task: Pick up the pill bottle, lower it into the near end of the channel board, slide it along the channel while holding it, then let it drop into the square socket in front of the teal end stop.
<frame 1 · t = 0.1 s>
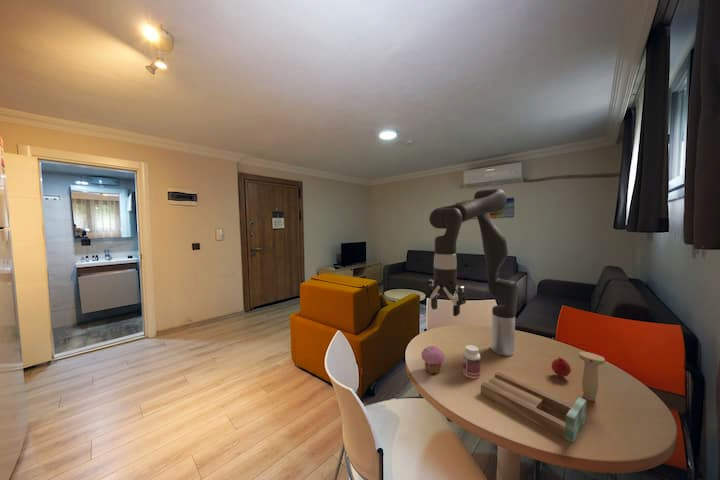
hand: (444, 312, 92), 29 cm above the table, fingers open, 8 cm apart
onion: (560, 377, 101), on the table
pill bottle: (471, 375, 104), on the table
handle: (589, 399, 89), on the table
channel board: (528, 406, 86), on the table
cupcake: (432, 371, 107), on the table
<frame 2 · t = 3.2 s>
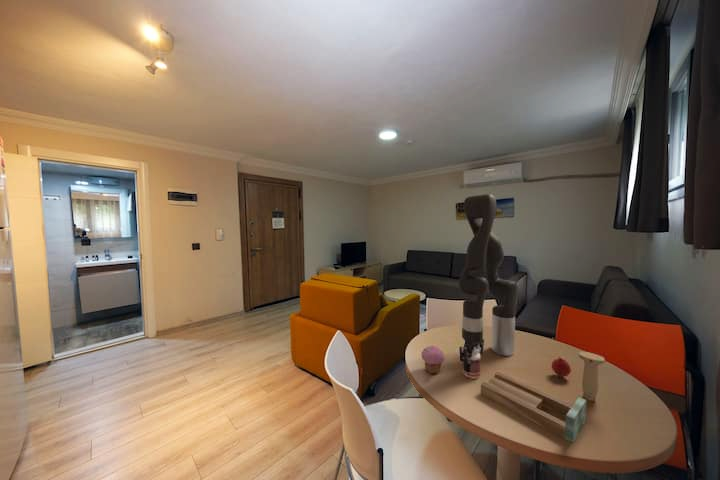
hand: (471, 368, 104), 3 cm above the table, fingers closed on pill bottle, 6 cm apart
pill bottle: (471, 375, 104), on the table, touching gripper
everything else where it was.
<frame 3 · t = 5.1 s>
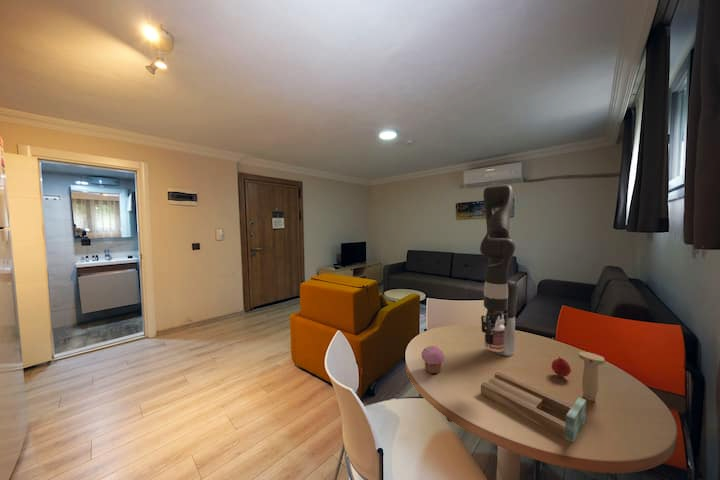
hand: (494, 340, 94), 18 cm above the table, fingers closed on pill bottle, 6 cm apart
pill bottle: (494, 348, 94), point 15 cm above the table, touching gripper
everything else where it was.
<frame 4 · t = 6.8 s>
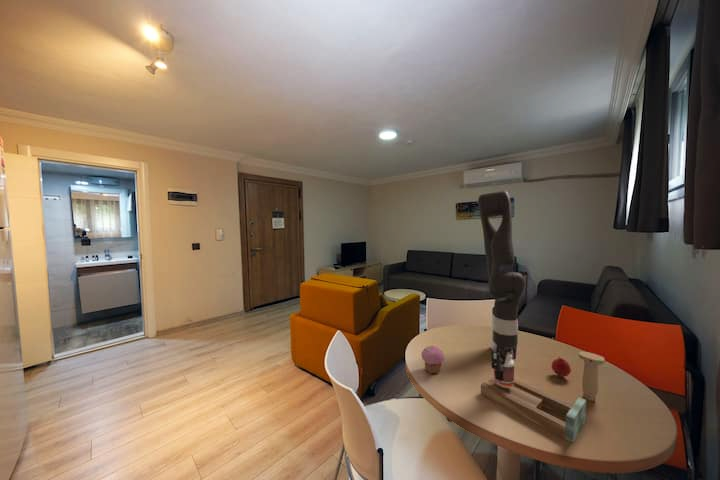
hand: (503, 375, 92), 7 cm above the table, fingers closed on pill bottle, 6 cm apart
pill bottle: (503, 383, 92), point 4 cm above the table, touching gripper
everything else where it was.
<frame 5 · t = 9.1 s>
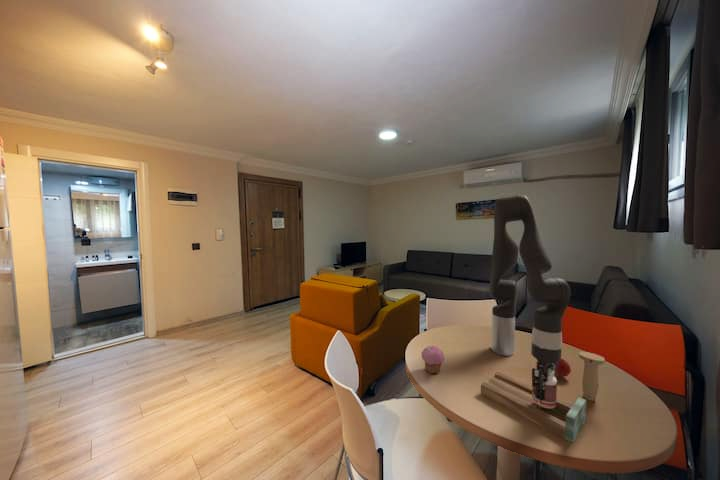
hand: (544, 394, 82), 7 cm above the table, fingers closed on pill bottle, 6 cm apart
pill bottle: (543, 403, 82), point 4 cm above the table, touching gripper
everything else where it was.
when the fingers open (4 cm above the table, at t = 10.9 s): pill bottle drops 1 cm, resting in channel board.
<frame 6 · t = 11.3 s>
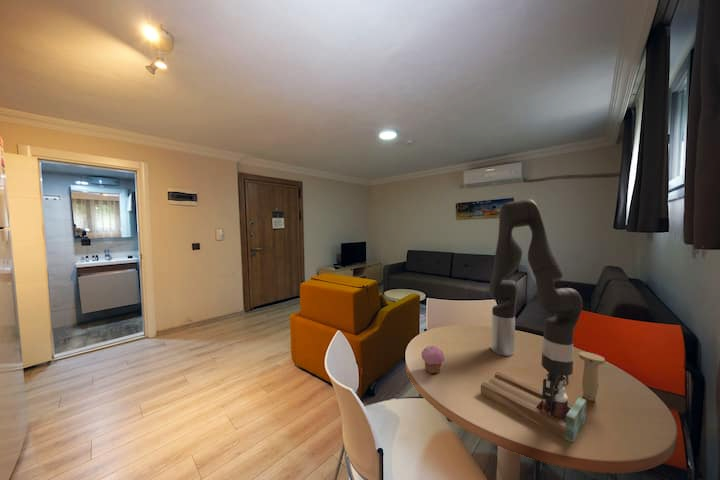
hand: (554, 405, 80), 5 cm above the table, fingers open, 8 cm apart
pill bottle: (554, 419, 81), resting in channel board
everything else where it was.
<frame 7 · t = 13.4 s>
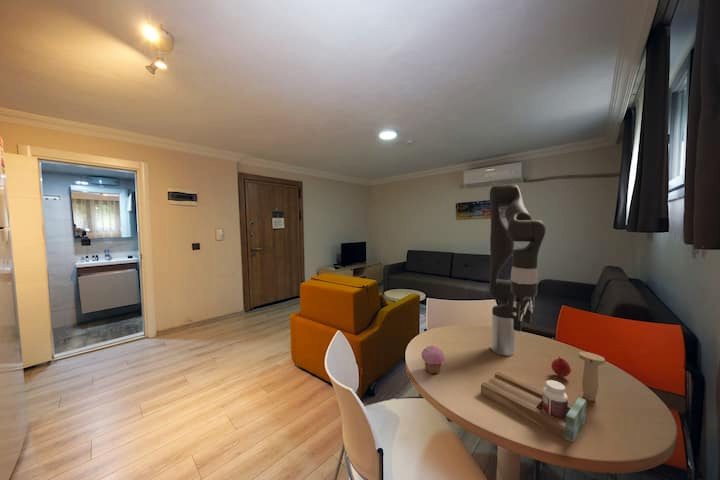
hand: (522, 326, 90), 25 cm above the table, fingers open, 8 cm apart
nothing on the table moved.
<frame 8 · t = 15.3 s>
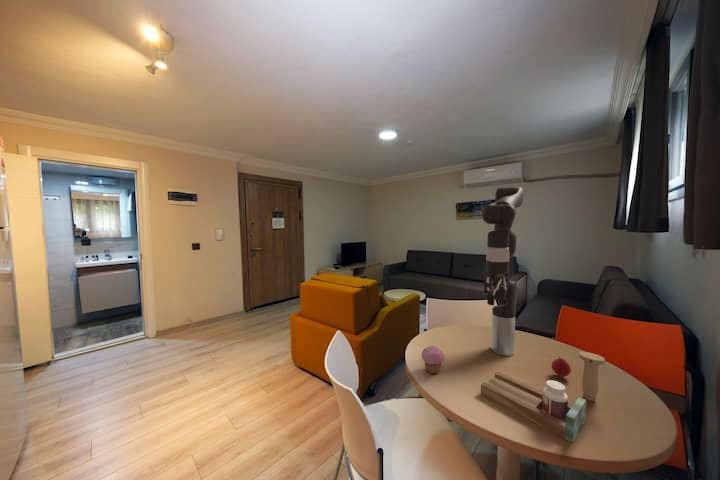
hand: (496, 302, 98), 30 cm above the table, fingers open, 8 cm apart
nothing on the table moved.
at the end: pill bottle inside the target area (0.3 cm from its centre), resting in channel board; pill bottle touching table; pill bottle tilted 0° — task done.
